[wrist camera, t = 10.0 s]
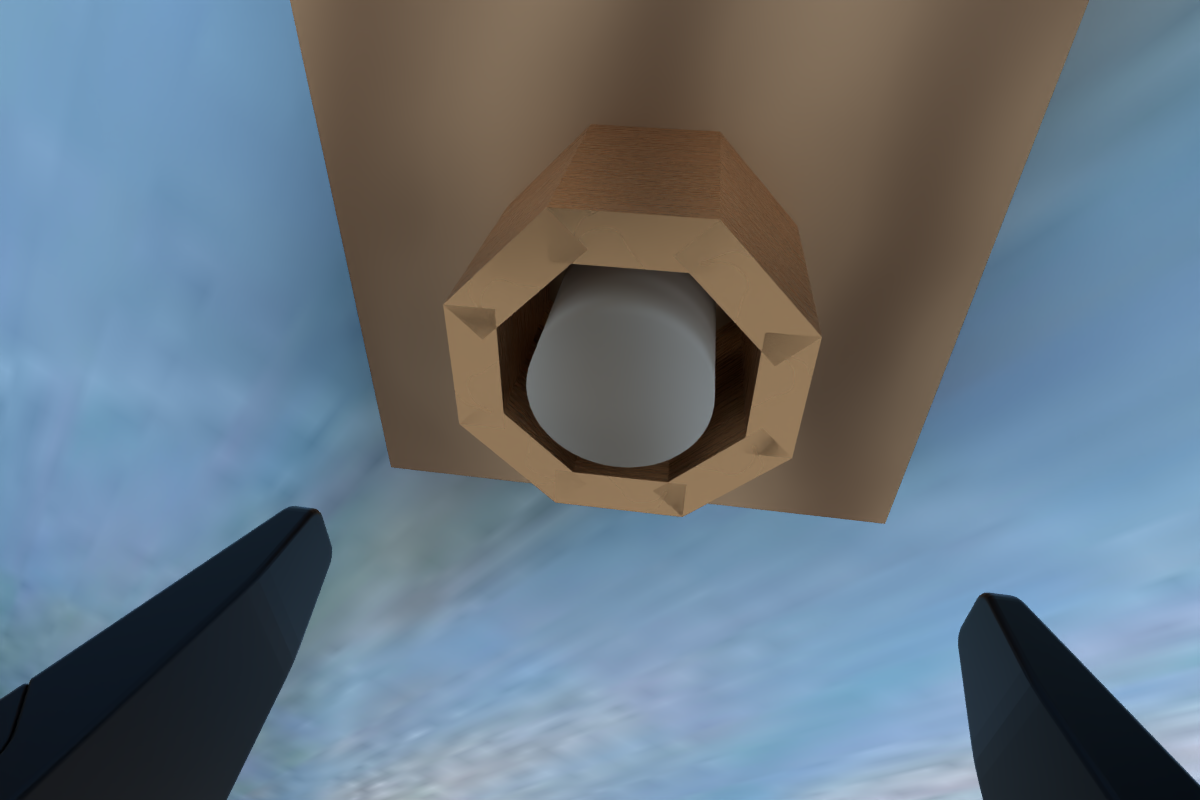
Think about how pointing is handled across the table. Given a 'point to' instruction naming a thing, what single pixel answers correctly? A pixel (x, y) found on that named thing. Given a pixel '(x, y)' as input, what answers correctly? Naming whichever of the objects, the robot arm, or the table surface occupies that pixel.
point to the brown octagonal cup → (652, 242)
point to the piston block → (675, 299)
